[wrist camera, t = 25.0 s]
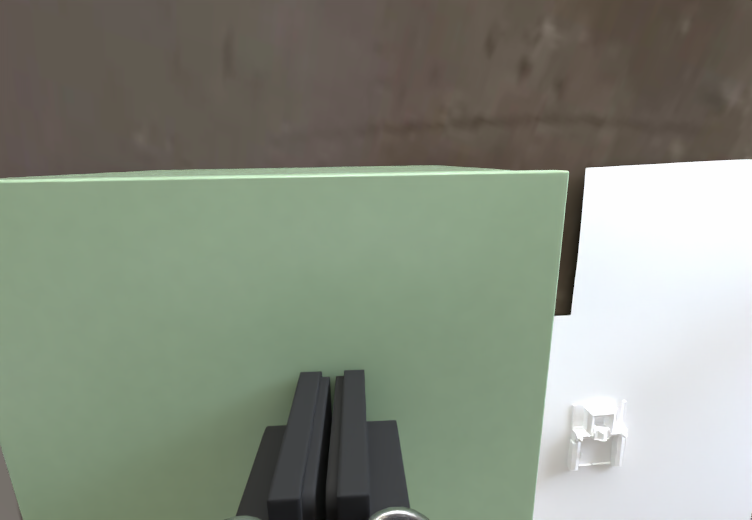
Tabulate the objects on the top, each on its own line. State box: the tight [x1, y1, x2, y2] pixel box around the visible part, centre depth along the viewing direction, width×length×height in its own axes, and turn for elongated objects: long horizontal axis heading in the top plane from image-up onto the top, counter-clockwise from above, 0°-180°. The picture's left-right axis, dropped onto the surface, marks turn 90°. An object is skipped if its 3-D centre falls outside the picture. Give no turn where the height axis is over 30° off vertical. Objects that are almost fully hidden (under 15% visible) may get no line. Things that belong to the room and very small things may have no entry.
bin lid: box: [0, 170, 569, 520], centre depth 11 cm, size 14×13×1 cm
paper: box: [533, 159, 752, 520], centre depth 22 cm, size 25×17×1 cm
